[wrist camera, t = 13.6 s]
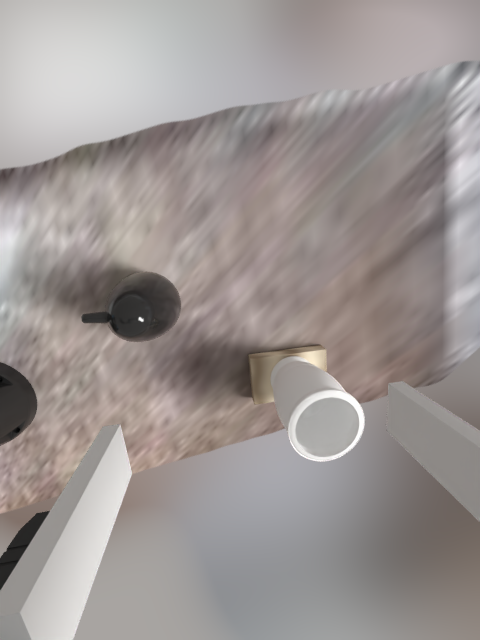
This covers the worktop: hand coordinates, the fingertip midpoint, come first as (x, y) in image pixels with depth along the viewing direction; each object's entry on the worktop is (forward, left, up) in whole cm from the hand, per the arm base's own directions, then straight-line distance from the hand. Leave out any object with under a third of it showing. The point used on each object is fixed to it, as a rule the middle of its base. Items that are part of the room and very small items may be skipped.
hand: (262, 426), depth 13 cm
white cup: (+11, -15, -32) cm, 37 cm away
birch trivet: (+11, -15, -35) cm, 39 cm away
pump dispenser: (-12, +2, -35) cm, 37 cm away
